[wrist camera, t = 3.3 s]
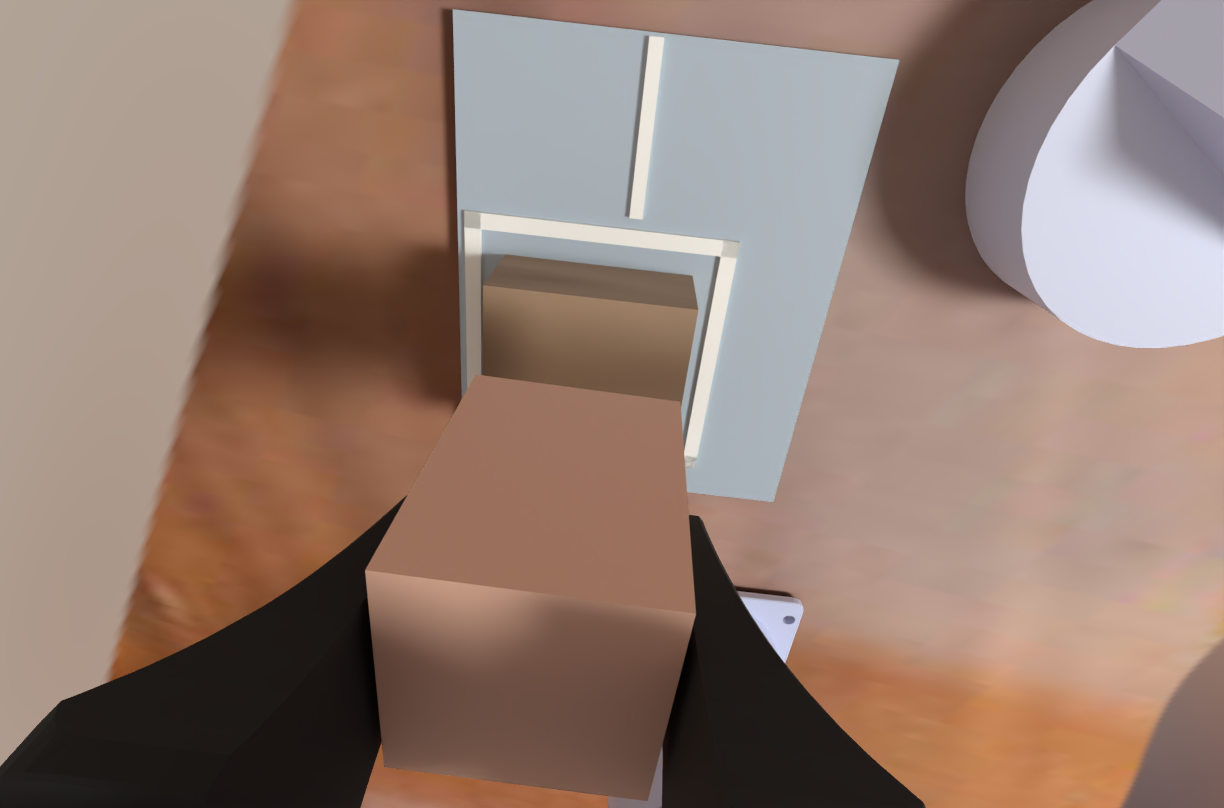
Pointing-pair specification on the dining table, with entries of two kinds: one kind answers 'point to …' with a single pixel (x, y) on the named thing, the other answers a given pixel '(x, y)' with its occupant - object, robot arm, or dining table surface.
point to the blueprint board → (673, 199)
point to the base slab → (589, 326)
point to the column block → (537, 592)
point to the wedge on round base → (1111, 173)
